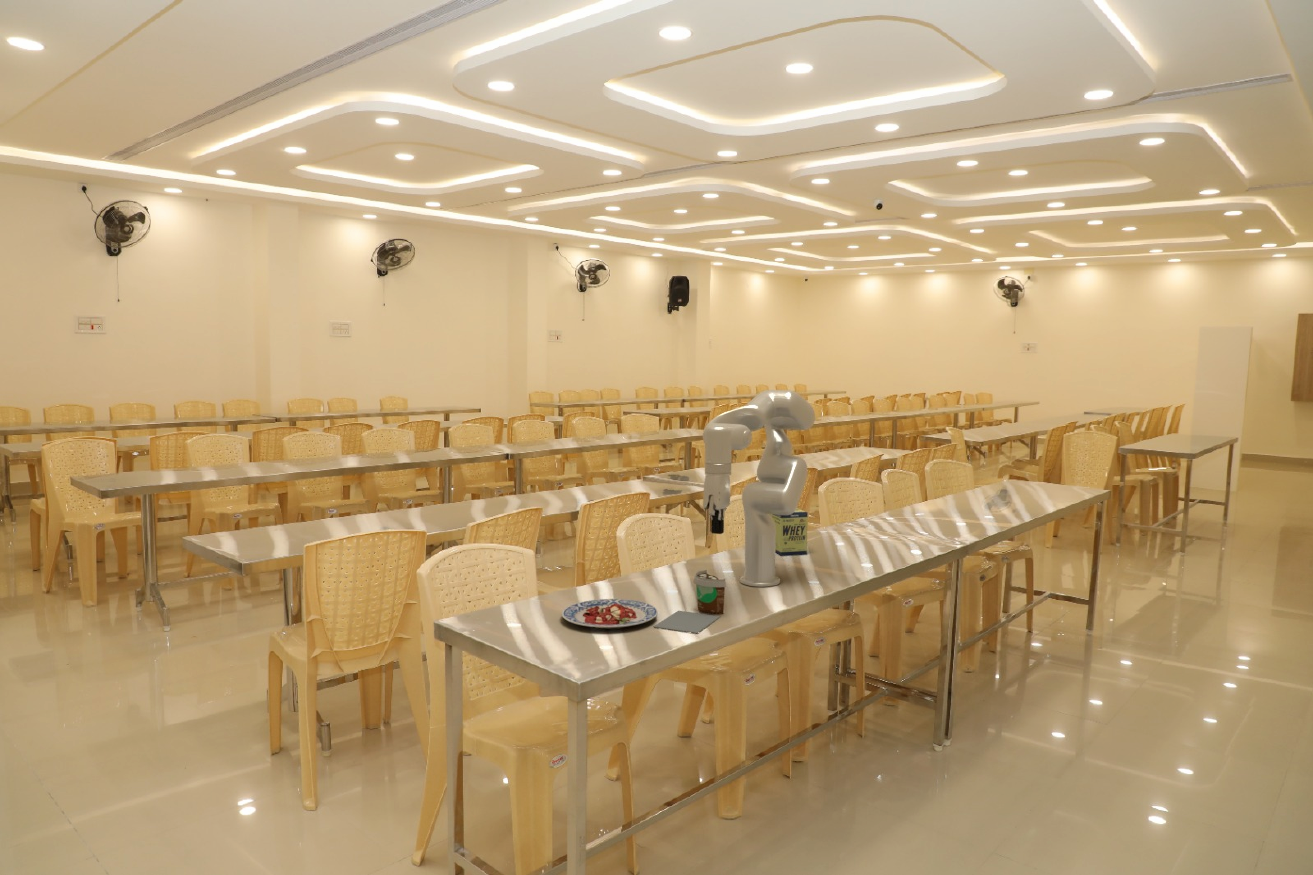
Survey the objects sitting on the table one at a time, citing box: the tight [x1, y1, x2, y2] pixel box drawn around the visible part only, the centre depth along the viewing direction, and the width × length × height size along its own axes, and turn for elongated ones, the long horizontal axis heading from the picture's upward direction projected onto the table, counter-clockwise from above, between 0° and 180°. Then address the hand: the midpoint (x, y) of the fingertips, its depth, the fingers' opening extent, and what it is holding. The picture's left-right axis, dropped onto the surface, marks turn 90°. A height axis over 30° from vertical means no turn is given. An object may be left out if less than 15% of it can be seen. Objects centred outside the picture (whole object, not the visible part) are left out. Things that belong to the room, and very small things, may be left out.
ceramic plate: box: [561, 598, 659, 629], centre depth 230 cm, size 26×26×3 cm
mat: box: [653, 610, 721, 634], centre depth 227 cm, size 16×12×1 cm
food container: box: [693, 569, 727, 615], centre depth 237 cm, size 12×6×10 cm, turn 23°
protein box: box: [770, 507, 808, 557], centre depth 312 cm, size 10×16×16 cm
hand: (717, 533), depth 243 cm, fingers closed
